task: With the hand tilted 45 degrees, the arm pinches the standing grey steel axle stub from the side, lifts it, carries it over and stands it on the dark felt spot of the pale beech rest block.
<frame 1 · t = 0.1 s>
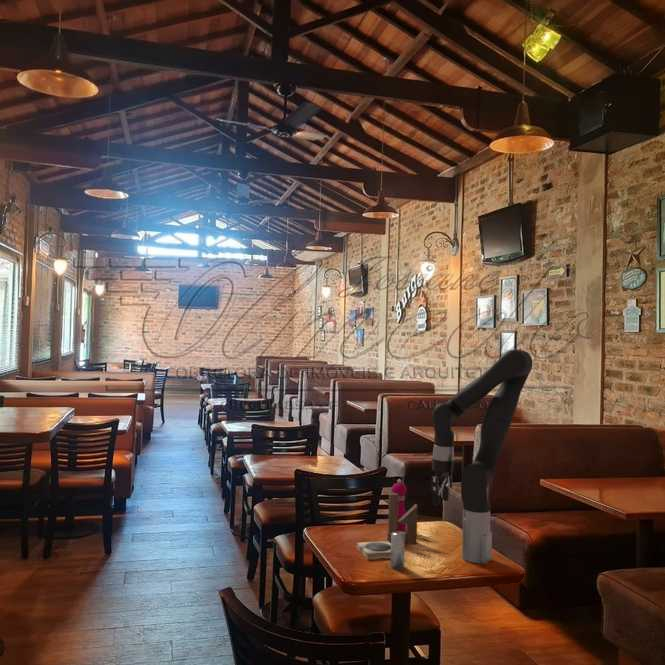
hand: (440, 502, 214), 17 cm above the table, tool pointing down, fingers open, 8 cm apart
rest block: (378, 552, 210), on the table
axle: (397, 566, 197), on the table
wooden block: (401, 542, 222), on the table
pepper mill: (398, 529, 239), on the table
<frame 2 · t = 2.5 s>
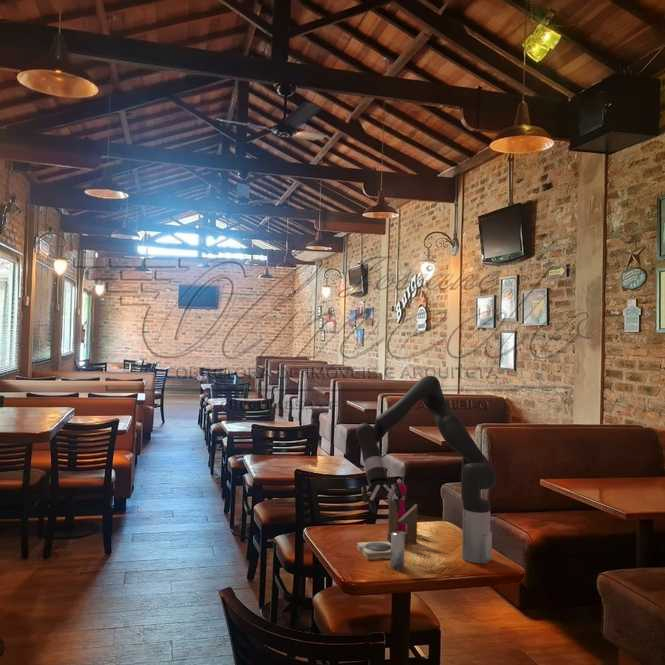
hand: (386, 511, 208), 15 cm above the table, tool tilted 45°, fingers open, 8 cm apart
nothing on the table moved.
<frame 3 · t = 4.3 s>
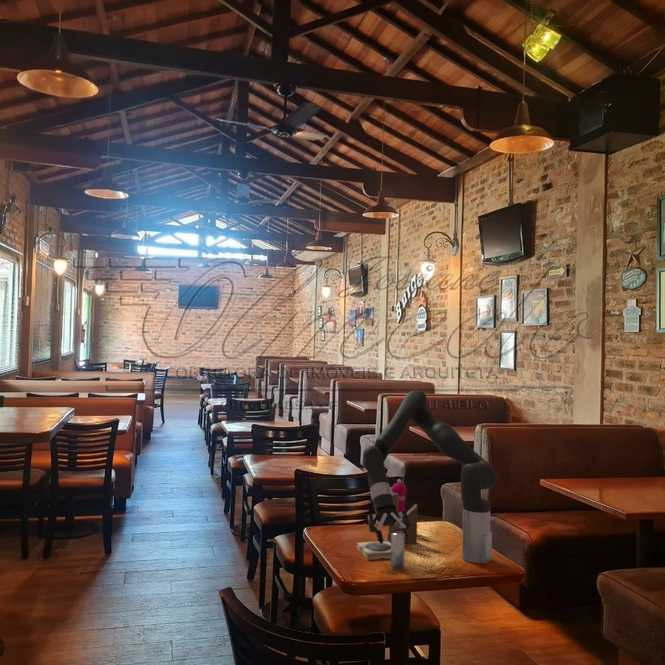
hand: (393, 541, 200), 7 cm above the table, tool tilted 45°, fingers open, 8 cm apart
nothing on the table moved.
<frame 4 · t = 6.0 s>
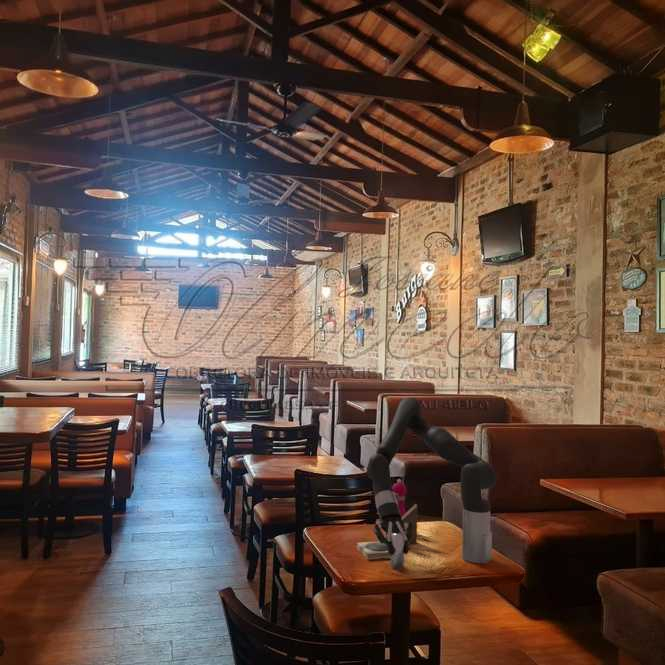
hand: (399, 553, 195), 5 cm above the table, tool tilted 45°, fingers closed on axle, 4 cm apart
axle: (397, 566, 197), on the table, touching gripper
everything else where it was.
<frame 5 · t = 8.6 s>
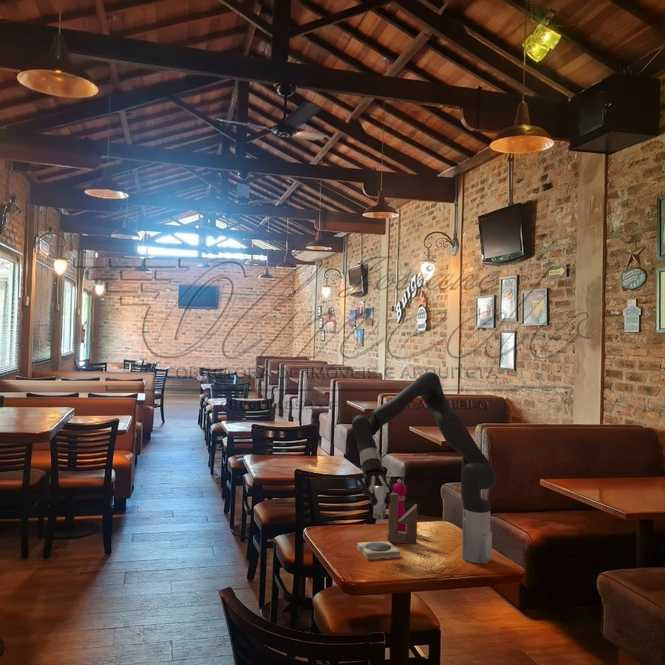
hand: (381, 504, 208), 18 cm above the table, tool tilted 45°, fingers closed on axle, 4 cm apart
axle: (379, 517, 210), point 13 cm above the table, touching gripper
everything else where it was.
when the fingers open (8 cm above the table, at t = 11.0 s): axle stays where it is, resting on rest block.
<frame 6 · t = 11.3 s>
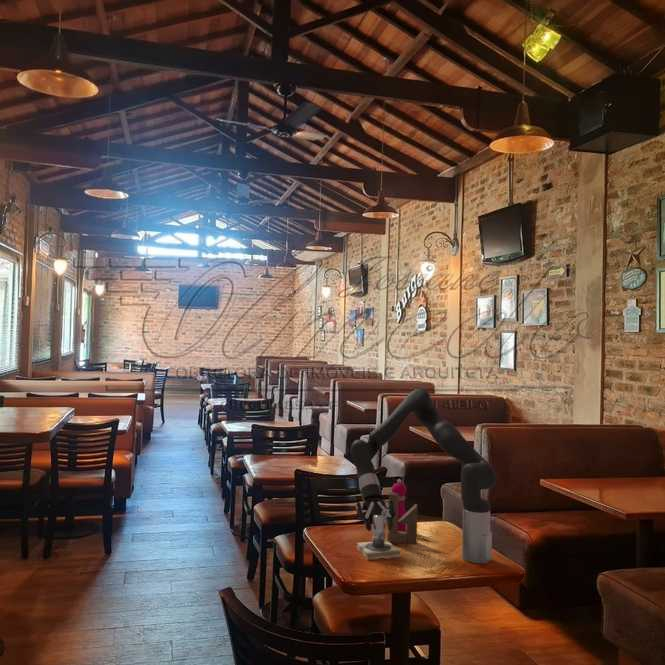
hand: (380, 529, 209), 9 cm above the table, tool tilted 45°, fingers open, 7 cm apart
axle: (378, 546, 210), point 2 cm above the table, touching rest block
everything else where it was.
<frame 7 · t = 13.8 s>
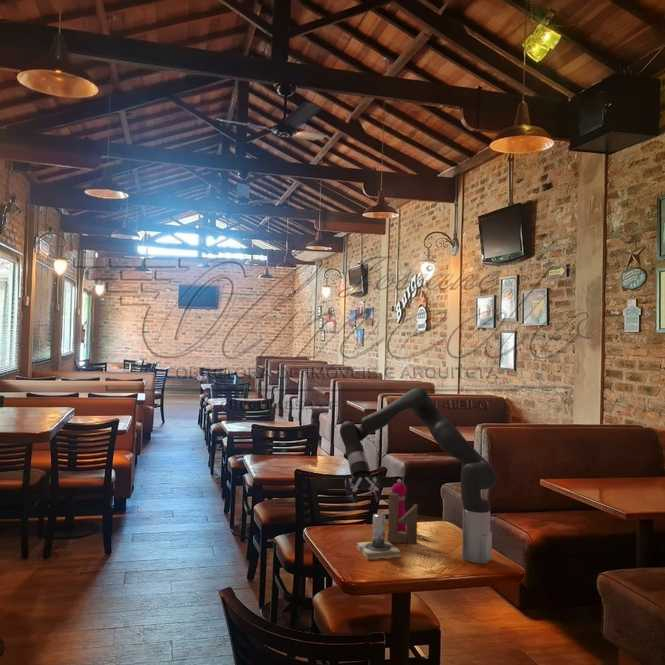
hand: (367, 501, 223), 15 cm above the table, tool tilted 45°, fingers open, 8 cm apart
nothing on the table moved.
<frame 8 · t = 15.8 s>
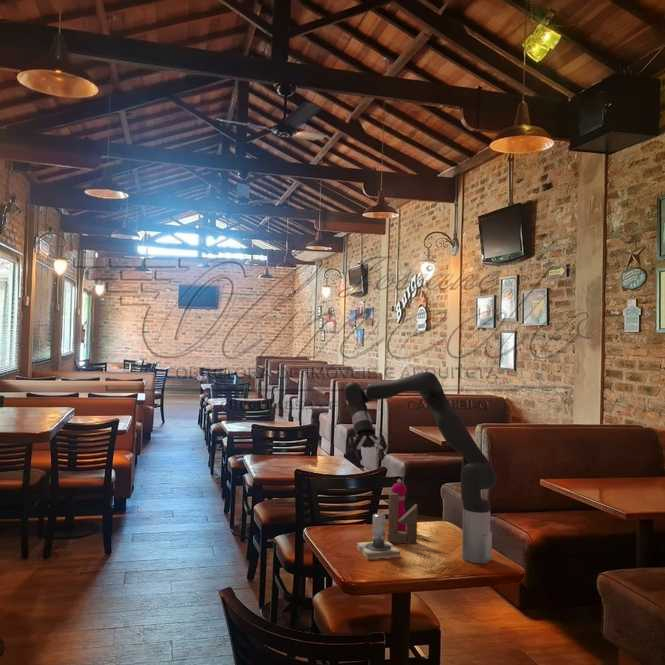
hand: (371, 459, 224), 31 cm above the table, tool tilted 45°, fingers open, 8 cm apart
nothing on the table moved.
at the end: axle inside the target area on the rest block (0.2 cm from its centre), point 2.2 cm above the rest block's base; axle tilted 0°; the gripper is holding nothing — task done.
